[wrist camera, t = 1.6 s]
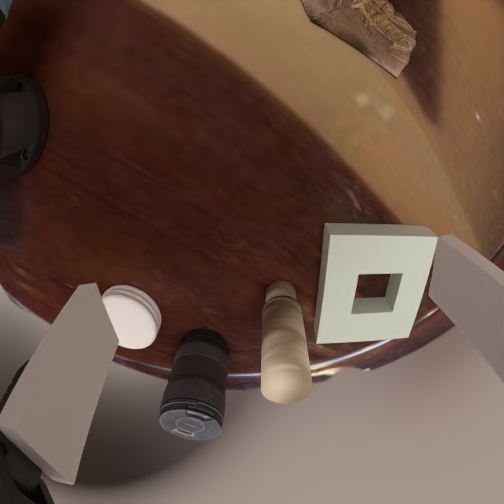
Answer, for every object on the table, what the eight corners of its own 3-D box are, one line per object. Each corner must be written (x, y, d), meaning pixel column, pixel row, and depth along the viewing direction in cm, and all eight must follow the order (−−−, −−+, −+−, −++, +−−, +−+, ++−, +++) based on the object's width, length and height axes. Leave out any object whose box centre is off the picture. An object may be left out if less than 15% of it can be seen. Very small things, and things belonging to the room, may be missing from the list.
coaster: (157, 343, 47) (151, 358, 44) (101, 322, 46) (93, 336, 42) (167, 296, 42) (160, 311, 39) (104, 274, 41) (94, 287, 38)
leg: (261, 307, 42) (260, 403, 28) (261, 277, 40) (260, 372, 26) (297, 307, 42) (309, 402, 28) (300, 277, 40) (316, 371, 26)
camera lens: (221, 368, 48) (211, 447, 35) (174, 352, 47) (152, 429, 34) (240, 337, 45) (232, 422, 32) (188, 318, 44) (163, 401, 30)
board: (313, 327, 44) (316, 343, 41) (324, 222, 36) (330, 234, 33) (400, 322, 43) (408, 337, 40) (425, 225, 36) (437, 236, 33)
